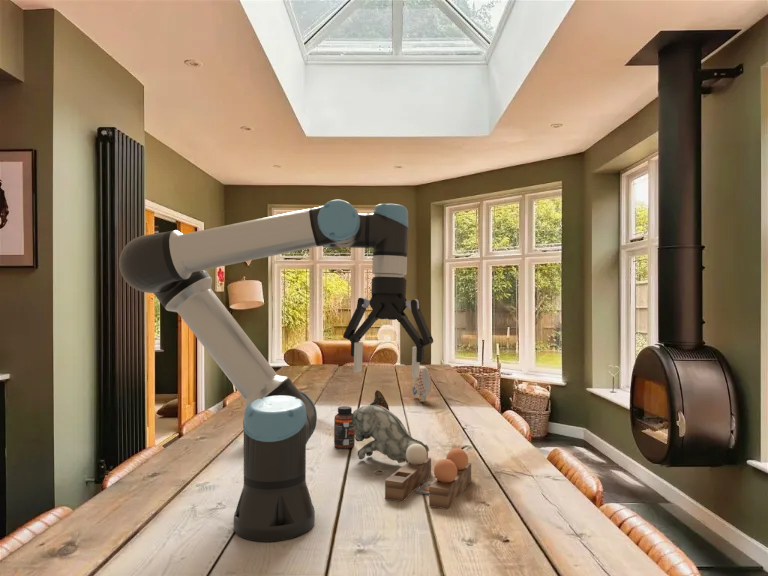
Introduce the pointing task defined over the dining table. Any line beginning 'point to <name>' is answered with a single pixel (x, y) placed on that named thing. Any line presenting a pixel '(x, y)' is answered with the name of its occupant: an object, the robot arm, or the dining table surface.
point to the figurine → (382, 433)
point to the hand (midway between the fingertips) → (385, 374)
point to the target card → (424, 488)
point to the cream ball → (416, 454)
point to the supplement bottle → (344, 428)
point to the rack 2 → (449, 489)
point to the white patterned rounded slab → (422, 384)
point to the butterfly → (380, 400)
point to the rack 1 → (406, 480)
